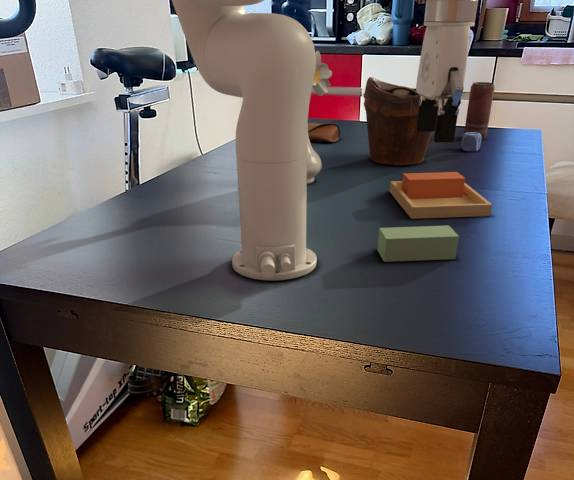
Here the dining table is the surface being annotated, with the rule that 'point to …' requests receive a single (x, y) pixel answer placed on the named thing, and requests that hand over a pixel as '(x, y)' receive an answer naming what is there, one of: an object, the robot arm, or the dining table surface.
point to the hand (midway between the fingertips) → (434, 136)
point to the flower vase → (312, 157)
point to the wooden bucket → (394, 124)
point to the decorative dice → (471, 141)
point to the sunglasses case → (323, 132)
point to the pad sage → (417, 243)
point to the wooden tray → (442, 204)
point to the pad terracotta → (433, 185)
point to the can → (479, 108)
